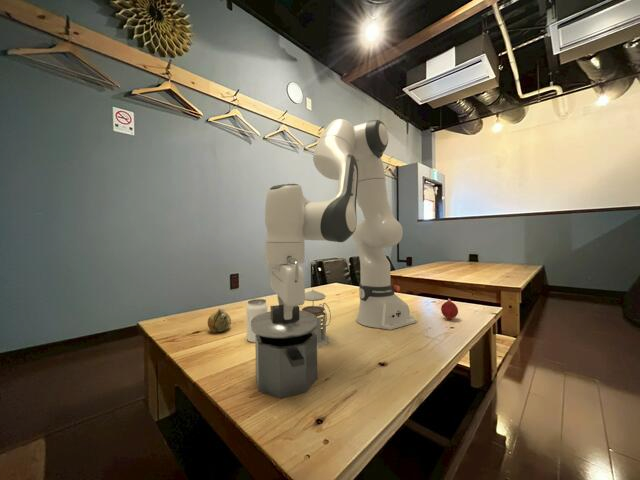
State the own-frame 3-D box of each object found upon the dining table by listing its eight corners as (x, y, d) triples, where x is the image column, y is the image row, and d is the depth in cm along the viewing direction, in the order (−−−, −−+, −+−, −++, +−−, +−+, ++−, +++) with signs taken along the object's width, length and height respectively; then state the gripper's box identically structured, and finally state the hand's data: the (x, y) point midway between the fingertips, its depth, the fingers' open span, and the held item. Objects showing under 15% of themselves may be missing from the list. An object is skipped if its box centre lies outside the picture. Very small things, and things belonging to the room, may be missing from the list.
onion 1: (236, 327, 89) (236, 305, 89) (222, 336, 82) (222, 311, 81) (217, 325, 91) (217, 304, 91) (202, 334, 83) (202, 310, 83)
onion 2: (461, 322, 92) (461, 301, 92) (445, 322, 93) (445, 301, 92) (453, 317, 98) (453, 297, 98) (438, 317, 98) (438, 297, 98)
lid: (306, 311, 66) (306, 296, 66) (327, 332, 52) (327, 312, 52) (248, 318, 61) (248, 301, 61) (254, 342, 47) (254, 320, 47)
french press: (314, 331, 85) (313, 258, 85) (339, 341, 77) (339, 260, 76) (291, 339, 78) (290, 260, 78) (316, 352, 70) (316, 263, 69)
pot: (301, 353, 69) (301, 317, 69) (330, 399, 50) (329, 349, 49) (252, 362, 64) (252, 323, 64) (263, 416, 45) (262, 361, 45)
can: (262, 344, 75) (262, 304, 75) (243, 342, 76) (242, 303, 76) (271, 335, 82) (270, 299, 81) (252, 334, 83) (252, 298, 83)
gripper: (312, 258, 48) (313, 329, 48) (288, 252, 67) (288, 303, 67) (280, 259, 46) (280, 334, 46) (264, 252, 65) (265, 305, 65)
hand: (285, 315), depth 57 cm, fingers closed on lid, 3 cm apart
